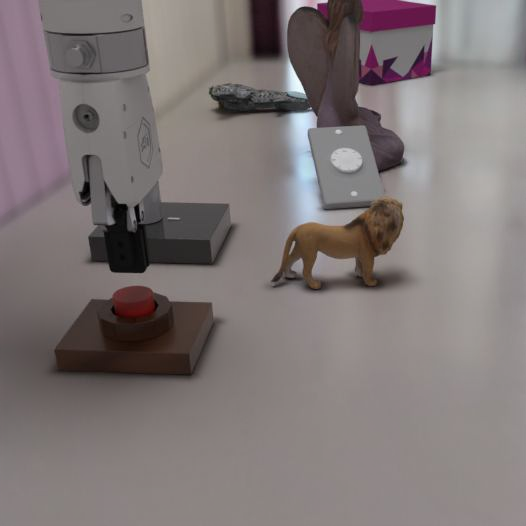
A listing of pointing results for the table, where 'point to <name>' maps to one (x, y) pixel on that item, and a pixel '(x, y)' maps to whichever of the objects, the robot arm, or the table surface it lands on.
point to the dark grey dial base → (179, 234)
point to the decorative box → (394, 40)
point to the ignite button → (133, 302)
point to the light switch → (345, 166)
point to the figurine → (337, 73)
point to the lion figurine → (345, 241)
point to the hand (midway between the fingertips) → (130, 268)
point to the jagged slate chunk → (256, 98)
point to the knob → (152, 205)
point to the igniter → (136, 338)
